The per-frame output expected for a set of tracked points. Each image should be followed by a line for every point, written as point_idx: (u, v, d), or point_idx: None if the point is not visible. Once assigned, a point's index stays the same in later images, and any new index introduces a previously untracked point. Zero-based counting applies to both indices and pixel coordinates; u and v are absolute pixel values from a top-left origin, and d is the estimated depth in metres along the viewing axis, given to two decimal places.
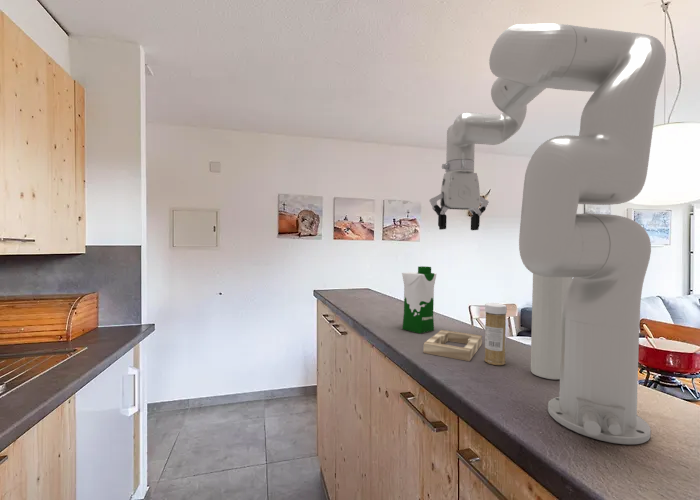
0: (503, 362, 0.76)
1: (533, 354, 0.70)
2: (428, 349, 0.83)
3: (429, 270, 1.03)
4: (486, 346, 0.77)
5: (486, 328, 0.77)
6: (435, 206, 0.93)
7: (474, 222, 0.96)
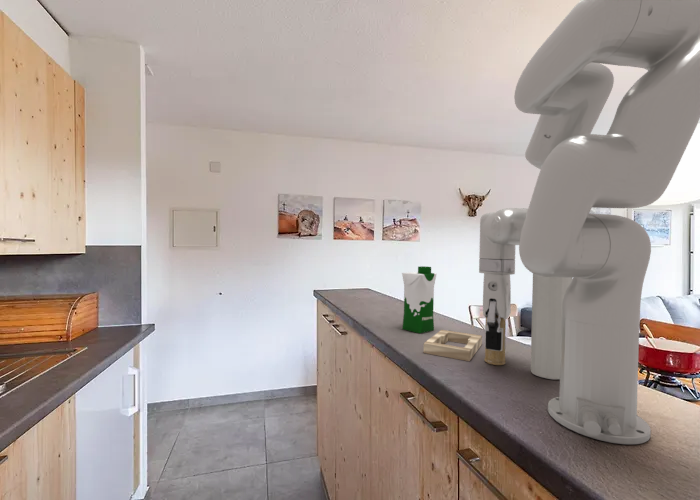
0: (503, 362, 0.76)
1: (533, 354, 0.70)
2: (428, 349, 0.83)
3: (429, 270, 1.03)
4: None
5: None
6: (495, 325, 0.73)
7: None
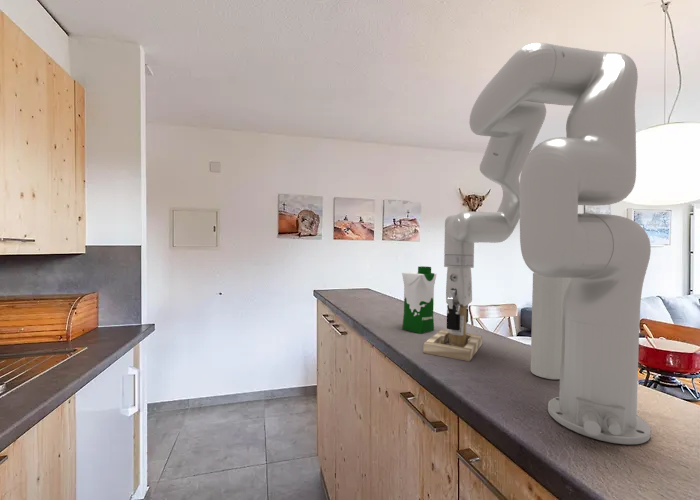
0: (464, 345, 0.88)
1: (533, 354, 0.70)
2: (428, 349, 0.83)
3: (429, 270, 1.03)
4: (450, 331, 0.90)
5: None
6: (454, 306, 0.83)
7: None
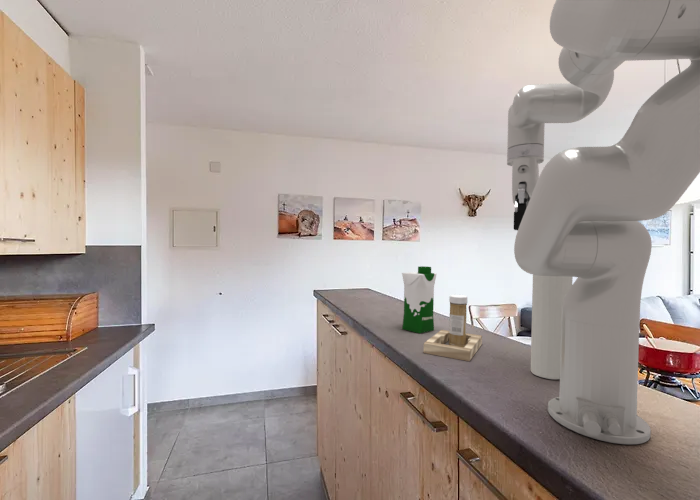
0: (464, 345, 0.88)
1: (533, 354, 0.70)
2: (428, 349, 0.83)
3: (429, 270, 1.03)
4: (450, 331, 0.90)
5: (450, 316, 0.90)
6: (525, 199, 0.71)
7: None
